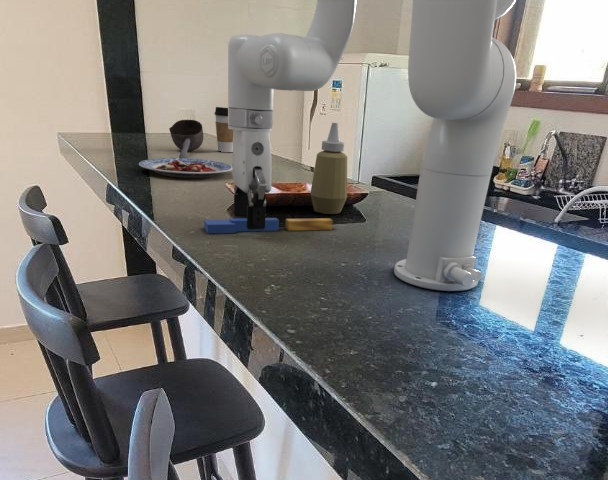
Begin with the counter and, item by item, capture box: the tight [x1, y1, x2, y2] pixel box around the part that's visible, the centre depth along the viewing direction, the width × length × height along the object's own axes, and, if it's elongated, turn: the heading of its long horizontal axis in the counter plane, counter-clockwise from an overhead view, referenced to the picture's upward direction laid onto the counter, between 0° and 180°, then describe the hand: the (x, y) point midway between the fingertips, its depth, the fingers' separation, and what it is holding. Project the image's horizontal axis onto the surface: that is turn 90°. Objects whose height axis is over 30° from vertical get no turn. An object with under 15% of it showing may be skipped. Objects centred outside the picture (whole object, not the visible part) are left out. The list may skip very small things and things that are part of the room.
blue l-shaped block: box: [203, 217, 280, 235], centre depth 98 cm, size 14×4×2 cm, turn 110°
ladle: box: [168, 119, 204, 158], centre depth 180 cm, size 12×38×10 cm, turn 8°
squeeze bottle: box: [309, 122, 348, 215], centre depth 113 cm, size 8×8×18 cm
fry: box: [284, 217, 334, 232], centre depth 102 cm, size 9×2×2 cm, turn 110°
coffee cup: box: [214, 106, 234, 153], centre depth 194 cm, size 8×8×15 cm
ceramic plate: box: [138, 157, 232, 179], centre depth 149 cm, size 26×26×3 cm
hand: (248, 222), depth 98 cm, fingers open, 9 cm apart
